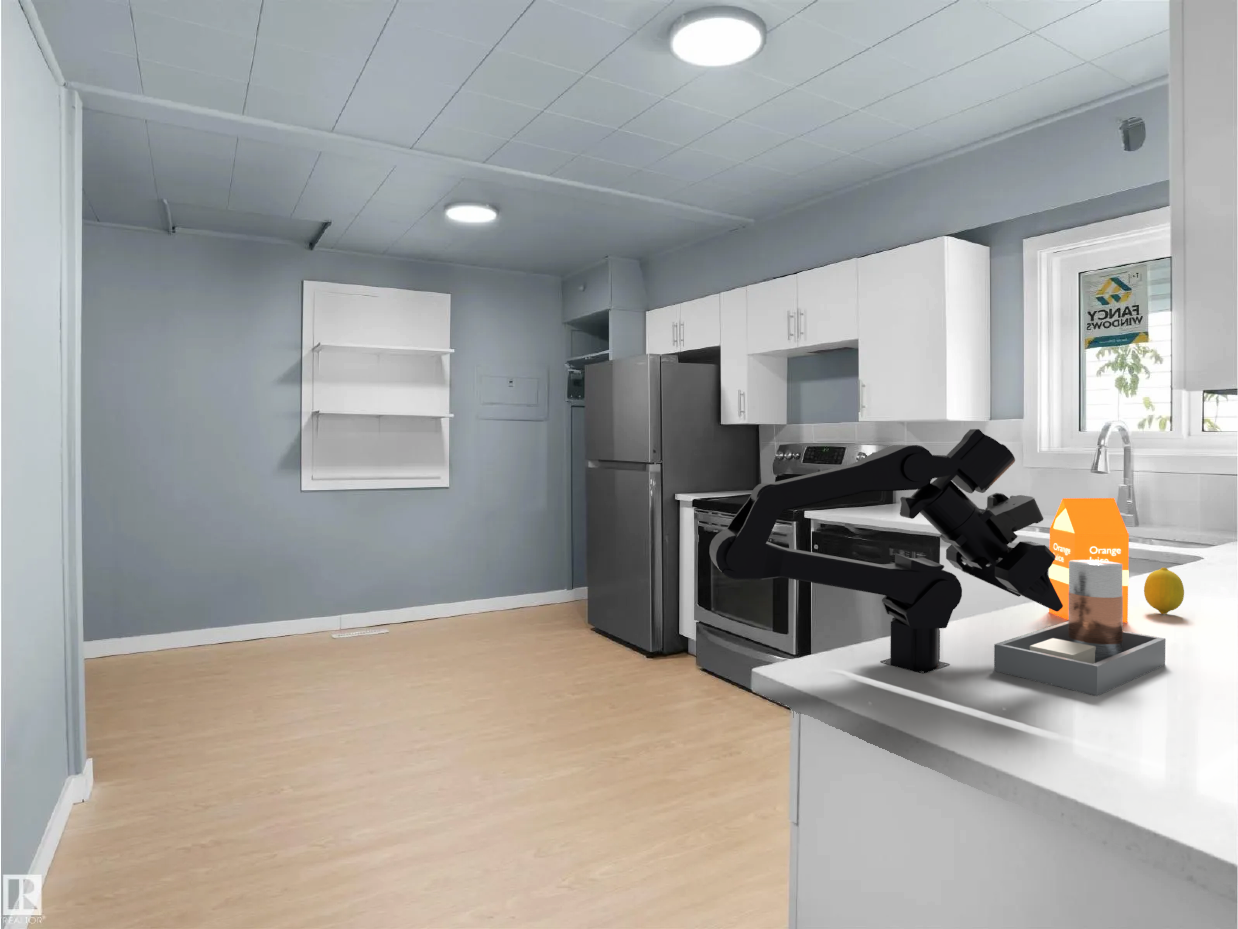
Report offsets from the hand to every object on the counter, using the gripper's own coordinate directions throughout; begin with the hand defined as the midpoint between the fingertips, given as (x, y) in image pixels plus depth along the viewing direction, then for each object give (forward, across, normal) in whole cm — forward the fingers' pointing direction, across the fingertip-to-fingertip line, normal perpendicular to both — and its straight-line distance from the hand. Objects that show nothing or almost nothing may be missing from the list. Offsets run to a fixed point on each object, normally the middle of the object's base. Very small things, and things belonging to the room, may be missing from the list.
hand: (1039, 601), depth 101 cm
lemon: (+32, +29, -20) cm, 47 cm away
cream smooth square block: (+6, -6, +6) cm, 10 cm away
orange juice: (+22, +27, -10) cm, 37 cm away
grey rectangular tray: (+9, -3, +3) cm, 10 cm away
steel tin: (+11, 0, 0) cm, 11 cm away
